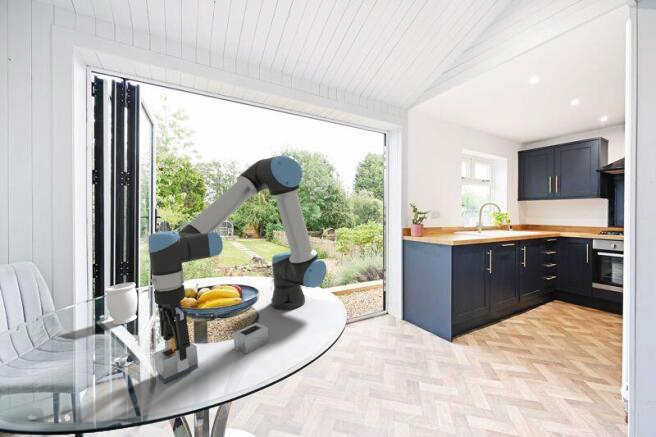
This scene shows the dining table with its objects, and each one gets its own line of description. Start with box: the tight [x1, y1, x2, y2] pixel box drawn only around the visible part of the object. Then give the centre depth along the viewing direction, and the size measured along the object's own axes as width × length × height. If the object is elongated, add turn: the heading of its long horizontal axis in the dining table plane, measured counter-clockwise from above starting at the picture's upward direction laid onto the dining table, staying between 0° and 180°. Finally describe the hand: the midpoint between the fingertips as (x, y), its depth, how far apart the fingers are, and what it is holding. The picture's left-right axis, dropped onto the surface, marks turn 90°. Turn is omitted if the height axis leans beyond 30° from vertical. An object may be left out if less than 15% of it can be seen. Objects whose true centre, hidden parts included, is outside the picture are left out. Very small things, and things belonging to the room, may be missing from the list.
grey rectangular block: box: [153, 341, 199, 379], centre depth 82 cm, size 9×6×5 cm
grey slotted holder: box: [232, 322, 270, 355], centre depth 95 cm, size 9×6×5 cm
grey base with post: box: [156, 336, 199, 385], centre depth 82 cm, size 9×5×10 cm, turn 140°
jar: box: [104, 282, 138, 326], centre depth 121 cm, size 11×10×15 cm
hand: (177, 365), depth 82 cm, fingers closed on grey rectangular block, 6 cm apart
